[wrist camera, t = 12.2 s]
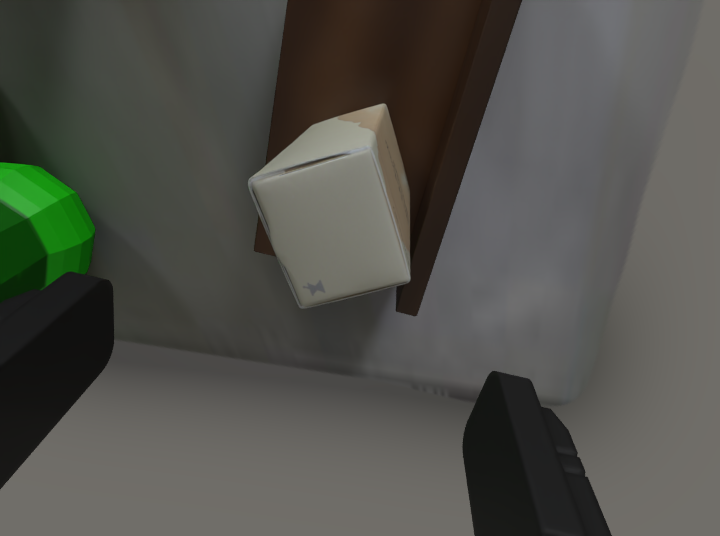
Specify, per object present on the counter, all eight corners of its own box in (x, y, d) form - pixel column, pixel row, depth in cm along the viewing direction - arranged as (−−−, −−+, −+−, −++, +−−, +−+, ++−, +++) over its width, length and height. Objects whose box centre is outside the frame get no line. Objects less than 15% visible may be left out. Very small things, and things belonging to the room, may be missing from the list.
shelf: (279, 213, 35) (237, 274, 26) (340, -180, 25) (306, -291, 16) (413, 246, 35) (416, 317, 26) (528, -130, 25) (593, -213, 16)
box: (411, 193, 26) (416, 292, 16) (337, 213, 27) (299, 318, 17) (385, 95, 24) (372, 142, 14) (305, 120, 25) (241, 181, 15)
